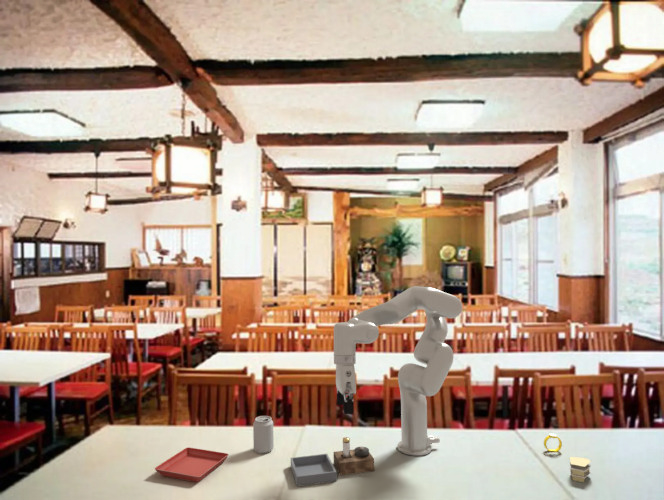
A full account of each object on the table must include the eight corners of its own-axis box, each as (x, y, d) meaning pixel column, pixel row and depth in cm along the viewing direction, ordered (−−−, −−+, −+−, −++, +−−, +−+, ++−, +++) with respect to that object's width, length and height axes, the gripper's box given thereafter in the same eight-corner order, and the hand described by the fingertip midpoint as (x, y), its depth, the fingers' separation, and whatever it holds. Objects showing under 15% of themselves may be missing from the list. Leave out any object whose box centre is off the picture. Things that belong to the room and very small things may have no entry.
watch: (546, 452, 166) (545, 436, 166) (542, 449, 169) (542, 433, 169) (562, 452, 166) (562, 436, 166) (559, 449, 169) (559, 433, 169)
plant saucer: (229, 462, 163) (229, 452, 163) (199, 486, 146) (199, 476, 146) (187, 455, 169) (187, 446, 169) (153, 478, 152) (153, 468, 152)
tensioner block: (366, 459, 163) (366, 441, 163) (374, 470, 154) (374, 452, 154) (333, 463, 160) (333, 445, 160) (340, 475, 152) (339, 456, 152)
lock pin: (349, 465, 158) (348, 436, 158) (350, 469, 156) (350, 439, 156) (342, 466, 158) (341, 437, 158) (344, 469, 155) (343, 440, 155)
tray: (327, 462, 161) (327, 453, 161) (336, 481, 148) (336, 471, 148) (290, 466, 158) (290, 457, 158) (296, 486, 145) (296, 476, 145)
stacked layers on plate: (595, 488, 141) (595, 471, 141) (563, 481, 146) (562, 464, 146) (596, 475, 150) (596, 458, 150) (566, 468, 154) (565, 452, 154)
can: (269, 455, 168) (269, 422, 168) (250, 453, 169) (250, 421, 169) (276, 446, 175) (275, 415, 175) (257, 445, 176) (257, 414, 177)
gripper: (362, 364, 149) (362, 416, 149) (348, 353, 166) (348, 400, 166) (340, 365, 148) (340, 418, 147) (328, 354, 165) (328, 401, 164)
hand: (344, 408), depth 157 cm, fingers open, 9 cm apart
